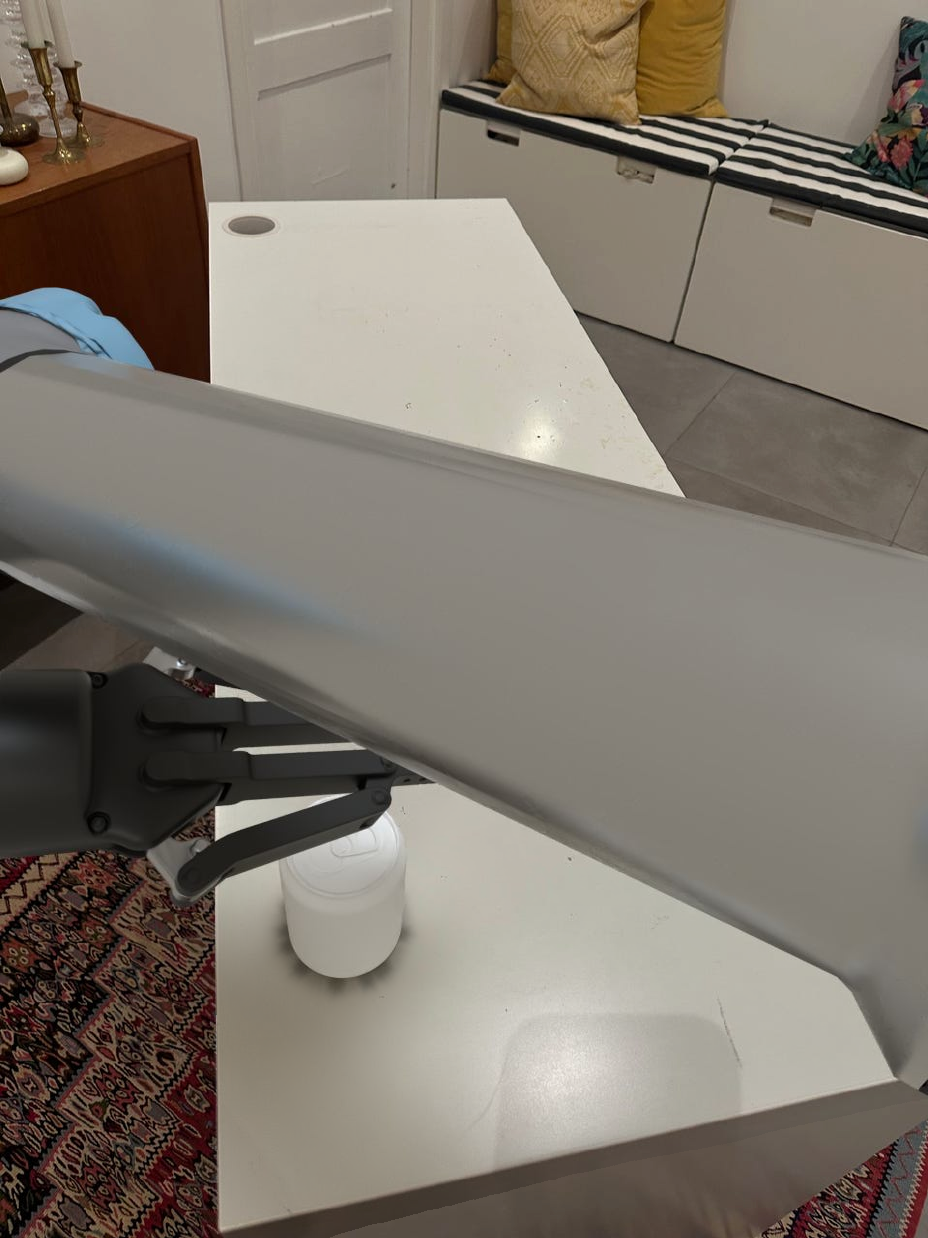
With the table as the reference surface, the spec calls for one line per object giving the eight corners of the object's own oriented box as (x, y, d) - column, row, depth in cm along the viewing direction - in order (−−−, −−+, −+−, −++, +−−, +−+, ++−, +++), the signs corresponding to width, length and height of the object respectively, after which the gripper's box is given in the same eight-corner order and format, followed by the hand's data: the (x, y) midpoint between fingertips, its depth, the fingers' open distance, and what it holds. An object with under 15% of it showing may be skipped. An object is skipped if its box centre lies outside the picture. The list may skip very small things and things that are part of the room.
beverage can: (277, 892, 64) (264, 807, 56) (382, 860, 67) (385, 774, 58) (304, 998, 59) (293, 923, 51) (416, 959, 62) (425, 881, 53)
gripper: (-6, 664, 40) (452, 662, 51) (-21, 954, 34) (504, 885, 45) (-13, 574, 35) (505, 593, 45) (-32, 904, 29) (574, 838, 39)
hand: (504, 738), depth 45 cm, fingers closed
